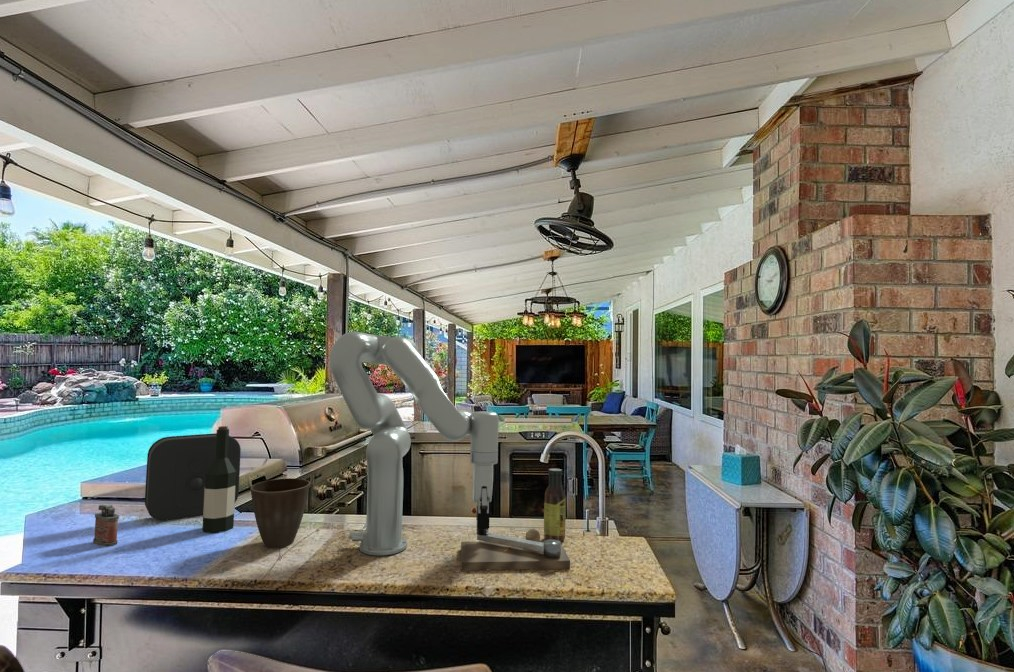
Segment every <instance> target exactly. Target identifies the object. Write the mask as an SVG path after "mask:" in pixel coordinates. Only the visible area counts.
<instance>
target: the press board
mask: <svg viewBox="0 0 1014 672" xmlns="http://www.w3.org/2000/svg"><path fill="white" fill-rule="evenodd" d="M524 539H526V540H531V541H537V542H542V543H544V541H545V540H541V534H540V532H539V531H538V530H537V529H535V528H531V529H528V530H527V532H526V533H525V538H524ZM460 542H461V543H460V571H461V572H463V571H466V572H467V571H470V570H474V571H488V570H487V569H532V570H571V559H570V558H569V556H568V554H567V552H566V551H565V549H564V547H563V545H562V544H561V556H560V557H557V558H549V557H546V556H544V555H543V552H539V551H533V550H528V549H523V548H518V547H512V546H507V545H502V544H497V543H491V542H486V541H481V540H477V541H460Z"/></svg>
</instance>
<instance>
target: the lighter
mask: <svg viewBox="0 0 1014 672" xmlns="http://www.w3.org/2000/svg"><path fill="white" fill-rule="evenodd" d="M115 509H116V508H115V507H113V505H112V504H110V505H107V504H99V505H98V510H99V511H100V512H98V513H95V514H94V518H95V521H94V522H95V523H94V524H95V525H94V538H93V540H92V543H93V544H94V545H97V546H100V547H106V548H109V547H114V546H117V545H118V528H119V527H118V525H119V524H118V523H119V519H120V515H119V514H116V513H115V512H116V510H115Z"/></svg>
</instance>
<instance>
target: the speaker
mask: <svg viewBox="0 0 1014 672" xmlns="http://www.w3.org/2000/svg"><path fill="white" fill-rule="evenodd" d="M216 433H217V432H215V433H202V434H189V435H188V434H187V435H184V434H183V435H173V436H164V437H161V438H159V439H157V440H156V441H155V442H153V443H152V445H151V446H150V447H149V449H148V451H147V456H146V472H145V474H146V475H145V491H144V492H145V493H144V495H145V496H144V505H145V508H146V510H147V513H148V514H149V516H150V517H151V518H153V519H154V520H156V521H159V522H168V521H174V520H175V521H177V520H182V519H188V518H193V517H201V516H203V508H204V489H205V472H206V471H207V469H208V468H209V466H210V465H211V463H212V462H213V460H214V459H215V452H216ZM241 450H242V449H241V445H240V443H239V441H238V440H237V439H235V438H234V437H232V436H230V435H229V442H228V459H229V461H230V462H231V464H232V466H233V467H234V469H235V471H236V483H235V503H236V502H237V500H238V498H239V490H240V489H239V488H240V476H241V475H240V474H241V473H240V469H241V453H242V451H241Z"/></svg>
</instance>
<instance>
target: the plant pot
mask: <svg viewBox="0 0 1014 672" xmlns="http://www.w3.org/2000/svg"><path fill="white" fill-rule="evenodd" d="M310 486H311V482H310V481H309V480H307V479H303V478H294V477H292V478H291V477H290V478H289V477H287V478H275V479H268V480H264V481H260V482H256V483H254V484H253V485H252V486H250V495H251V502H252V508H253V513H254V518H255V522H256V526H257V529H258V532H259V534H260V535H259V536H260V538H261V541H262V543H263V545H264V548H265V547H266V548H267V549H279V548H280V549H281V548H285V547H288V546H291V545H292V544H293V543H294V541H295V538H296V537H297V534H298V531H299V530H300V526H301V524H302V520H303V517H304V513H305V510H306V506H307V501H308V496H309V493H310V492H309V491H310Z"/></svg>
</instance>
